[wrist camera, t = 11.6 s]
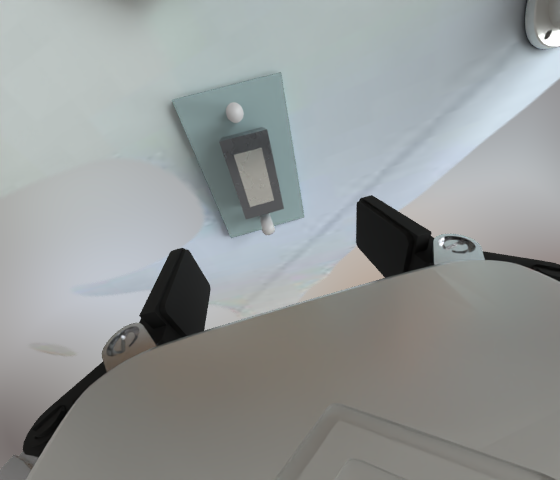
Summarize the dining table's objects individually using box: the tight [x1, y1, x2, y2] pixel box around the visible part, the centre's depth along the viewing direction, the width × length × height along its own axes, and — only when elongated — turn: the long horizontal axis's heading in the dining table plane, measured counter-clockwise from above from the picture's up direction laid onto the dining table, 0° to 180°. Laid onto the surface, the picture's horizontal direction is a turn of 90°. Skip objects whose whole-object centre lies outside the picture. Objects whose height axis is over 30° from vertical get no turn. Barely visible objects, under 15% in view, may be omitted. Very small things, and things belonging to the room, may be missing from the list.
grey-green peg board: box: [172, 72, 304, 238], centre depth 24 cm, size 12×18×6 cm, turn 13°
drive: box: [219, 127, 284, 219], centre depth 24 cm, size 5×9×5 cm, turn 12°
